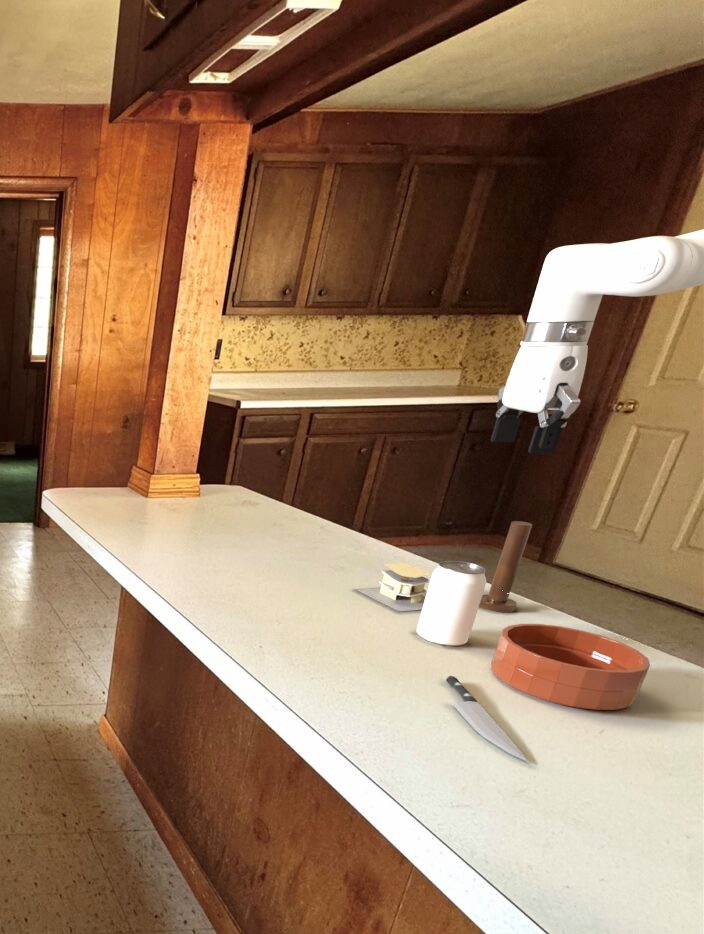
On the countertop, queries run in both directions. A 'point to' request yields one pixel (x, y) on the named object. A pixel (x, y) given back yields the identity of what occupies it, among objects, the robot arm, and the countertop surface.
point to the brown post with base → (507, 569)
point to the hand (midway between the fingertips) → (520, 447)
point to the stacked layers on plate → (401, 587)
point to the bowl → (569, 666)
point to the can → (451, 603)
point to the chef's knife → (482, 720)
